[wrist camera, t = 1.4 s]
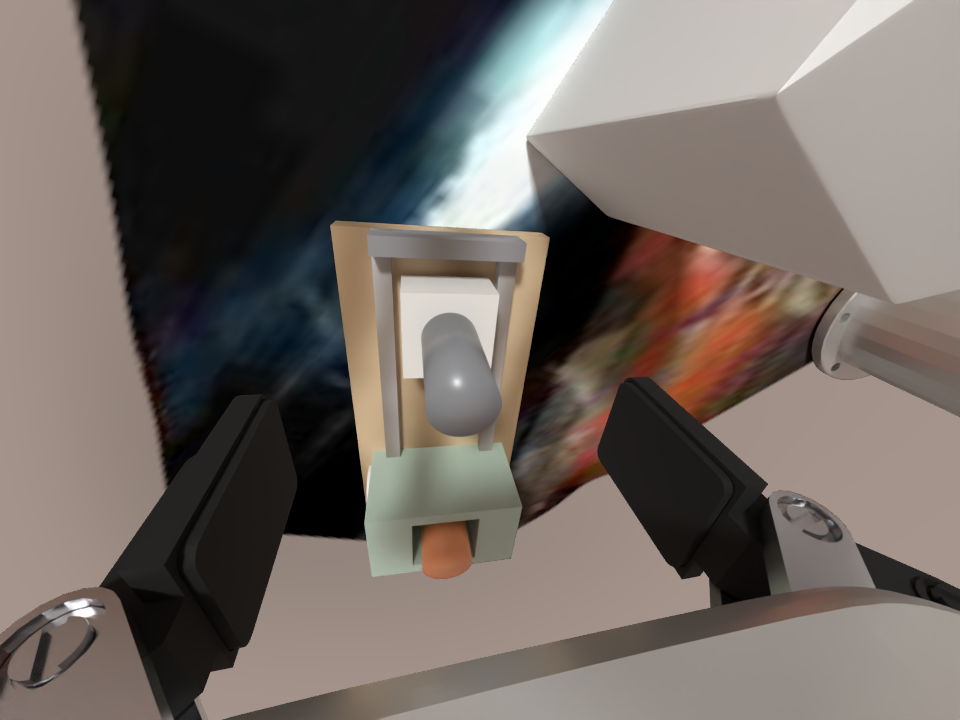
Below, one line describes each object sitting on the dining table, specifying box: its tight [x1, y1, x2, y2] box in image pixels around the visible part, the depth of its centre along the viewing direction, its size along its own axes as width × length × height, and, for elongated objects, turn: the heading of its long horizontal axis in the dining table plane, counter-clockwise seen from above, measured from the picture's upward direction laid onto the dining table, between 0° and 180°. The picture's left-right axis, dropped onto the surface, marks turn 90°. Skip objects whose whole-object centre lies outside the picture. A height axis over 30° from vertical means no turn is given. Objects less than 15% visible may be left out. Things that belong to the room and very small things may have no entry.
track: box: [330, 221, 550, 504], centre depth 24 cm, size 12×22×4 cm, turn 176°
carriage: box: [400, 275, 502, 437], centre depth 17 cm, size 5×5×9 cm
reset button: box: [421, 520, 472, 579], centre depth 23 cm, size 3×3×3 cm
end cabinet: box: [364, 442, 522, 577], centre depth 26 cm, size 10×6×8 cm, turn 85°
